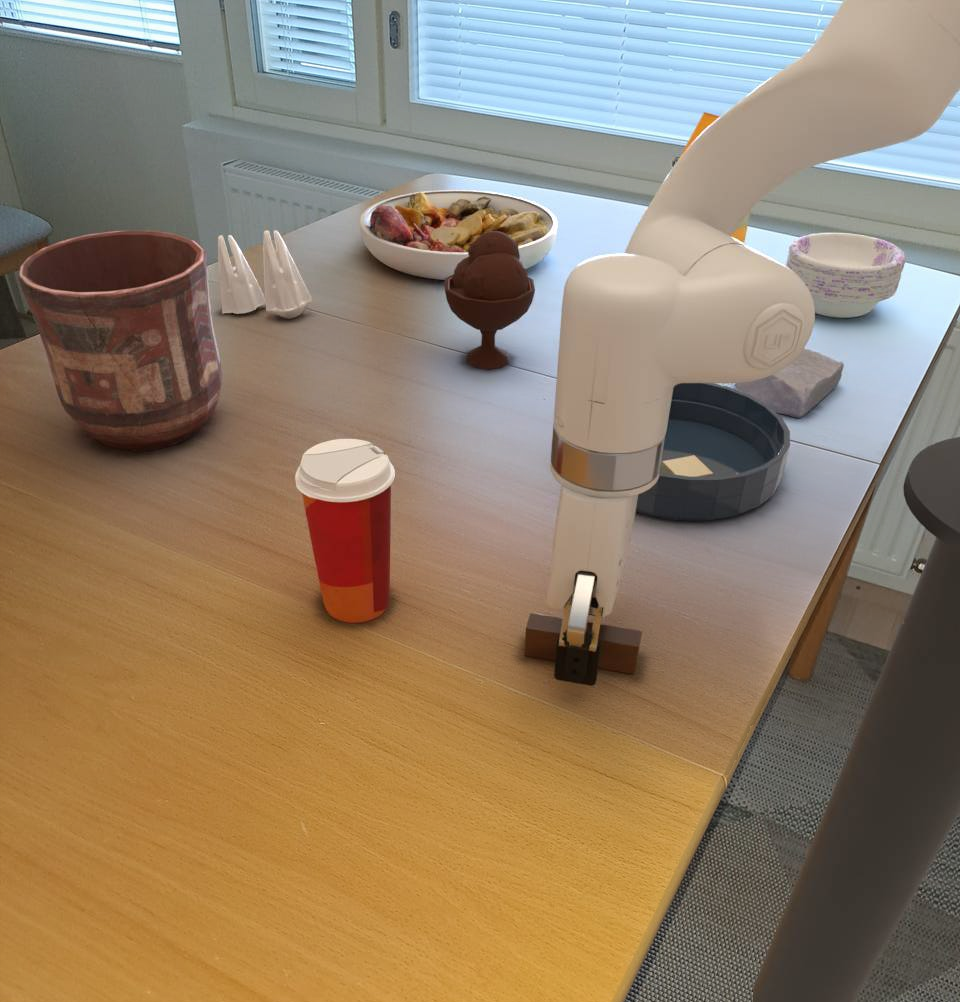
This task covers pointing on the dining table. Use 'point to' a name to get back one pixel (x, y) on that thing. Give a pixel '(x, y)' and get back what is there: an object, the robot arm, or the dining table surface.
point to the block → (686, 467)
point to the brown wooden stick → (615, 641)
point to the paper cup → (349, 525)
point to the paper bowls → (846, 271)
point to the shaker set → (280, 280)
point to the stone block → (796, 384)
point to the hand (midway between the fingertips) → (584, 640)
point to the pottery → (127, 334)
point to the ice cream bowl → (490, 293)
